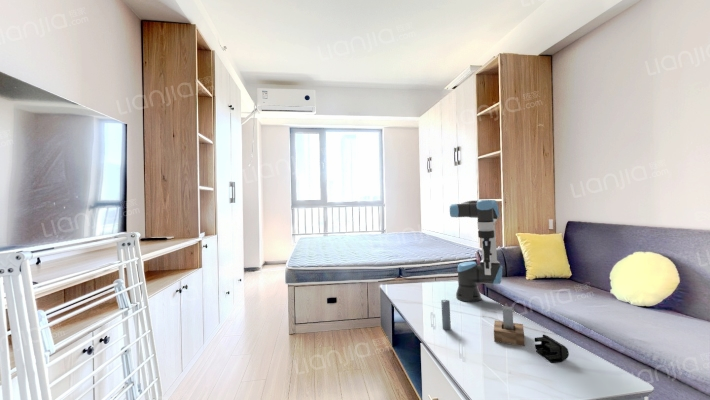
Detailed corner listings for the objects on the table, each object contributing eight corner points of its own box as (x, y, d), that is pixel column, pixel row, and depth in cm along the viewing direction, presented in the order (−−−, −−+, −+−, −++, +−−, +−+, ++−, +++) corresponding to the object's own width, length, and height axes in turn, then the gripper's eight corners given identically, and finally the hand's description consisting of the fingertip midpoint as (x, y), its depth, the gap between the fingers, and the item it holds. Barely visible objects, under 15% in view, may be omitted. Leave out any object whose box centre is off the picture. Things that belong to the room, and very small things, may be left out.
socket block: (495, 330, 142) (494, 320, 142) (523, 334, 137) (522, 324, 137) (494, 341, 131) (493, 330, 132) (524, 346, 126) (524, 334, 126)
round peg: (443, 326, 150) (442, 299, 150) (451, 327, 148) (450, 300, 148) (441, 329, 146) (440, 301, 146) (450, 330, 144) (448, 302, 144)
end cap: (569, 362, 113) (568, 345, 113) (552, 364, 112) (551, 346, 112) (550, 349, 123) (549, 333, 123) (534, 351, 122) (533, 335, 122)
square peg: (504, 335, 137) (502, 305, 137) (513, 337, 135) (512, 306, 135) (504, 339, 133) (502, 308, 133) (514, 340, 131) (512, 309, 132)
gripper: (494, 233, 136) (496, 278, 136) (494, 226, 158) (496, 265, 158) (476, 233, 139) (479, 277, 139) (479, 226, 161) (481, 264, 162)
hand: (488, 271), depth 149 cm, fingers open, 13 cm apart
